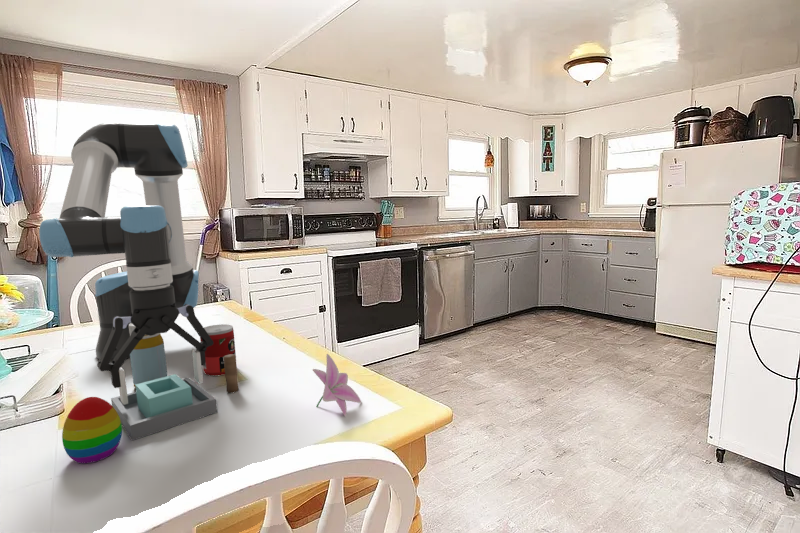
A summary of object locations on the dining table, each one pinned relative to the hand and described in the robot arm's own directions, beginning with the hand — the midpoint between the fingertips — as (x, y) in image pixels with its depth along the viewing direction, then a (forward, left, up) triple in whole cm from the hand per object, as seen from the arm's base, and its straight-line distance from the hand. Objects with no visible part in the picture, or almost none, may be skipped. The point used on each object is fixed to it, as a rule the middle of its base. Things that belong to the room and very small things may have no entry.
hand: (163, 391), depth 89 cm
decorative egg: (+8, -13, -5) cm, 16 cm away
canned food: (-16, +17, -5) cm, 24 cm away
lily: (+24, +25, -5) cm, 35 cm away
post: (-1, +14, -4) cm, 15 cm away
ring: (0, 0, -4) cm, 4 cm away
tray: (-1, 0, -4) cm, 5 cm away
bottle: (-19, +2, -5) cm, 19 cm away
